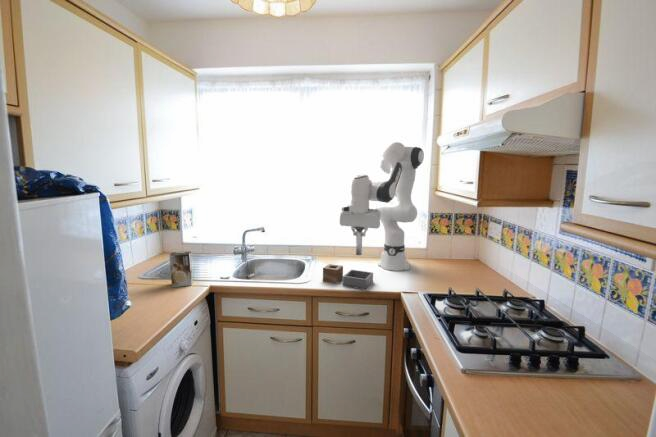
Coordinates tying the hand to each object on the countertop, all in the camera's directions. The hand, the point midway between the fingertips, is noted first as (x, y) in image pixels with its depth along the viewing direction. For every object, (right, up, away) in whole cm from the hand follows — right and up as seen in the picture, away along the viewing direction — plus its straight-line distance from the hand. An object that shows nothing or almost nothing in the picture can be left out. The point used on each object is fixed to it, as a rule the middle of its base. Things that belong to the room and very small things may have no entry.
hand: (359, 235), depth 156 cm
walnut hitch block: (-13, -24, +9) cm, 29 cm away
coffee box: (-88, -25, 0) cm, 92 cm away
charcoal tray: (0, -25, +3) cm, 25 cm away
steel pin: (0, -10, +1) cm, 10 cm away
